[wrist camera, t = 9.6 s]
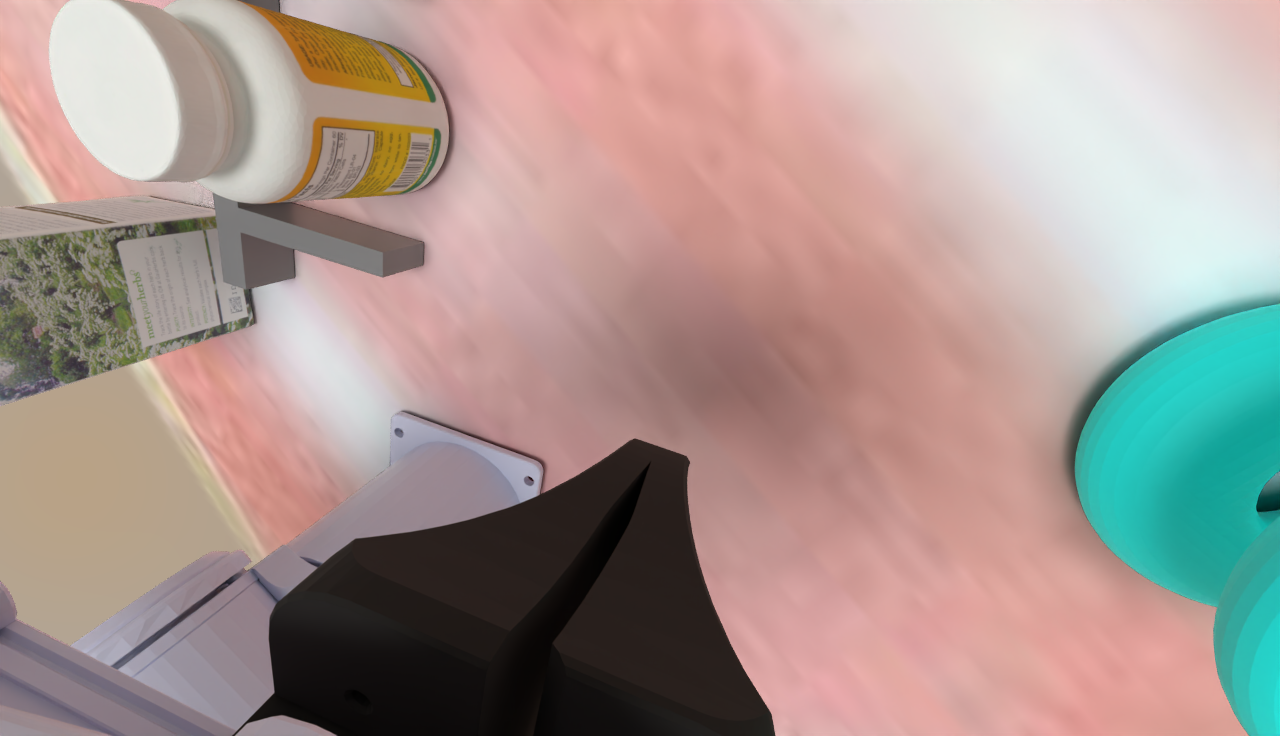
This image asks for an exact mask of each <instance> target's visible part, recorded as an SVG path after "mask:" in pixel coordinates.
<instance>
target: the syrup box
mask: <svg viewBox="0 0 1280 736" xmlns="http://www.w3.org/2000/svg"><path fill="white" fill-rule="evenodd" d="M253 324H254V319H253V313H252V308H251V302H250V297H249V291H248V289H247V290H245V289H242V288H239V287H237V286H234V285H231V284H228V283H225V282H223V274H222V265H221V257H220V248H219V240H218V231H217V223H216V214H215V209H211V208H206V207H200V206H195V205H190V204H184V203H179V202H174V201H169V200H164V199H159V198H153V197H149V196H128V197H116V198H105V199H95V200H86V201H75V202H63V203H48V204H37V205H22V206H10V207H0V406H2V405H5V404H9V403H12V402H15V401H18V400H21V399H24V398H27V397H30V396H33V395H37V394H40V393H43V392H46V391H50V390H53V389H56V388H59V387H62V386H65V385H68V384H71V383H74V382H77V381H81V380H84V379H87V378H90V377H93V376H96V375H99V374H102V373H106V372H109V371H112V370H115V369H119V368H122V367H125V366H128V365H131V364H134V363H137V362H140V361H143V360H146V359H149V358H152V357H155V356H159V355H162V354H165V353H168V352H171V351H174V350H177V349H181V348H184V347H187V346H190V345H193V344H196V343H199V342H202V341H205V340H208V339H212V338H214V337H217V336H220V335H224V334H228V333H231V332H234V331H237V330H240V329H243V328H246V327H249V326H252V325H253Z"/></svg>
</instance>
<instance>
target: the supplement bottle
mask: <svg viewBox="0 0 1280 736" xmlns="http://www.w3.org/2000/svg"><path fill="white" fill-rule="evenodd" d="M49 60H50V68H51V75H52V80H53V84H54V88H55V91H56V94H57V97H58V100H59V103H60V105H61V107H62V110H63V112H64V114H65V116H66V118H67V120H68V122H69V124H70V126H71V127H72V129H73V130H74V132H75V134H76V135H77V137H78V138H79V139H80V141H81V142H82V143H83V144H84V146H85V147H86V148H87V149H88V151H89V152H90V153H91V154H92V155H93V156H94V157H95V158H96V159H97V160H98V161H99V162H100V163H101V164H103V165H104V166H105V167H107V168H108V169H110V170H111V171H113V172H114V173H116V174H118V175H120V176H122V177H125V178H128V179H131V180H136V181H145V182H172V181H176V182H193V181H196V182H198V183H199V184H200V185H202V186H203V187H205V188H206V189H208V190H209V191H211V192H213V193H215V194H217V195H219V196H222V197H224V198H227V199H230V200H233V201H237V202H243V203H251V204H264V203H280V202H295V201H309V200H325V199H340V198H359V197H371V196H384V195H401V194H407V193H411V192H414V191H416V190H418V189H420V188H422V187H423V186H425V185H426V184H428V183H429V182H430V181H431V180H432V179H433V178H434V177H435V175H436V174H437V173H438V171H439V169H440V168H441V166H442V164H443V161H444V159H445V155H446V152H447V148H448V140H449V124H448V117H447V111H446V108H445V104H444V101H443V98H442V96H441V93H440V91H439V89H438V87H437V86H436V84H435V82H434V81H433V79H432V78H431V76H430V75H429V74H428V72H427V71H426V70H425V69H424V68H423V66H422V65H421V64H420V63H419V62H418V61H417V60H416V59H414V58H413V57H412V56H411V55H409V54H408V53H406V52H405V51H403V50H401V49H399V48H397V47H395V46H392V45H389V44H386V43H383V42H380V41H376V40H372V39H369V38H365V37H361V36H358V35H355V34H351V33H347V32H344V31H340V30H337V29H333V28H330V27H326V26H323V25H320V24H316V23H313V22H309V21H306V20H302V19H299V18H296V17H292V16H289V15H285V14H282V13H279V12H275V11H272V10H269V9H265V8H262V7H258V6H255V5H251V4H248V3H245V2H241V1H238V0H176V1H174V2H172V3H171V4H169V5H168V6H166V7H165V8H164V9H163V10H162V9H159V8H157V7H155V6H152V5H148V4H143V3H134V2H130V1H125V0H70V1H69V2H67V3H66V4H65V5H64V6H63V7H62V8H61V10H60V11H59V13H58V15H57V16H56V18H55V20H54V22H53V25H52V29H51V33H50V43H49Z"/></svg>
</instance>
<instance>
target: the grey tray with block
mask: <svg viewBox="0 0 1280 736" xmlns="http://www.w3.org/2000/svg"><path fill="white" fill-rule="evenodd" d="M238 1H241V2H245V3H248V4H251V5H255V6H258V7H262V8H265V9H269V10H272V11H275V12H279V0H238ZM213 197H214V206H215V214H216V223H217V231H218V240H219V248H220V257H221V265H222V274H223V282H225V283H228V284H231V285H234V286H237V287H239V288H242V289H245V290H247V289H251V288H255V287H259V286H263V285H267V284H271V283H275V282H279V281H283V280H287V279H291V278H295V270H294V253H293V249H295V250H298V251H301V252H304V253H307V254H310V255H313V256H317V257H320V258H323V259H326V260H329V261H332V262H335V263H339V264H342V265H345V266H348V267H351V268H354V269H357V270H361V271H364V272H367V273H370V274H373V275H376V276H379V277H386V276H389V275H393V274H396V273H399V272H403V271H406V270H409V269H413V268H416V267H419V266H423V255H424V242H420V241H417V240H414V239H411V238H407V237H404V236H401V235H397V234H394V233H391V232H387V231H384V230H381V229H377V228H374V227H371V226H367V225H364V224H361V223H357V222H354V221H351V220H347V219H344V218H341V217H337V216H334V215H331V214H327V213H324V212H321V211H318V210H314V209H311V208H308V207H304V206H301V205H298V204H294V203H291V202H280V203H264V204H251V203H243V202H237V201H233V200H230V199H227V198H224V197H222V196H219V195H217V194H215V193H213Z"/></svg>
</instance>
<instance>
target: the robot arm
mask: <svg viewBox="0 0 1280 736" xmlns="http://www.w3.org/2000/svg"><path fill="white" fill-rule="evenodd" d="M400 429H401V430H402V431H403V433H402V432H401V430H400ZM689 464H690V461H689V460H688V458H687V456H684V455H682V454H679V453H676V452H673V451H670V450H667V449H664V448H661V447H658V446H655V445H653V444H650V443H647V442H644V441H641V440H638V439H633V440H630V441H629V442H627V443H626V444H625V445H623V446H622V447H620V448H619V449H618V450H616V451H615V452H613V453H612V454H610V455H609V456H607V457H606V458H604V459H603V460H601V461H600V462H598V463H597V464H595V465H593V466H592V467H590V468H589V469H587V470H585V471H584V472H582V473H580V474H579V475H577V476H575V477H573V478H572V479H570V480H568V481H566V482H564V483H562V484H560V485H558V486H556V487H554V488H553V489H551V490H549V491H547V492H544V493H542V494H540V489H541V483H542V477H543V467H542V465H541V464H540V463H539V462H538V461H536V460H534V459H531V458H528V457H526V456H523V455H520V454H517V453H515V452H512V451H509V450H506V449H504V448H501V447H498V446H495V445H493V444H490V443H487V442H484V441H482V440H479V439H476V438H473V437H471V436H468V435H465V434H462V433H460V432H457V431H454V430H452V429H449V428H446V427H443V426H441V425H438V424H435V423H432V422H430V421H427V420H424V419H421V418H419V417H416V416H413V415H410V414H408V413H405V412H398V413H397V414H395V415H394V416H393V417H392V419H391V446H390V466H389V467H388V468H387V469H386V470H384V471H383V472H382V473H380V474H379V475H378V476H376V477H375V478H374V479H372V480H371V481H370V482H368V483H367V484H366V485H364V486H363V487H362V488H360V489H359V490H358V491H356V492H355V493H354V494H352V495H351V496H350V497H348V498H347V499H346V500H345V501H343V502H342V503H341V504H339V505H338V506H337V507H335V508H334V509H333V510H331V511H330V512H329V513H327V514H326V515H325V516H323V517H322V518H321V519H319V520H318V521H317V522H315V523H314V524H313V525H311V526H310V527H309V528H307V529H306V530H305V531H304V532H302V533H301V534H300V535H298V536H297V537H296V538H294V539H293V540H292V541H290V542H289V543H288V544H286V545H282V546H281V547H279V548H278V549H277V550H275V551H274V552H272V553H271V554H270V555H268V556H267V557H266V558H264V559H263V560H261V561H260V562H259V563H257V564H256V565H254V566H253V567H252V568H250V569H249V570H248V571H246V570H245V569H244V567H245V566H246V565H248V564H249V563H250V562H252V561H251V560H250V558H249V557H248V556H247V554H246V553H245V552H244V551H243V550H236V551H234V552H232V553H229V552H227V551H225V552H224V551H213V552H210V553H208V554H206V555H204V556H203V557H201V558H199V559H198V560H196V561H195V562H193V563H191V564H190V565H188V566H187V567H185V568H183V569H182V570H180V571H179V572H177V573H176V574H175V575H173V576H171V577H170V578H168V579H167V580H165V581H164V582H162V583H161V584H159V585H158V586H156V587H155V588H153V589H152V590H150V591H149V592H147V593H146V594H144V595H143V596H141V597H140V598H138V599H137V600H135V601H134V602H132V603H131V604H129V605H128V606H127V607H125V608H123V609H122V610H121V611H119V612H118V613H116V614H115V615H113V616H112V617H110V618H109V619H107V620H106V621H105V622H103V623H102V624H100V625H99V626H97V627H96V628H94V629H93V630H92V631H90V632H89V633H88V634H86V635H84V636H83V637H82V638H80V639H79V640H77V641H76V642H75V643H73V644H72V645H70V646H69V645H67V644H65V643H63V642H61V641H59V640H57V639H55V638H53V637H51V636H50V635H48V634H46V633H44V632H41V631H40V630H38V629H36V628H34V627H32V626H30V625H28V624H25V623H24V622H22V621H20V620H18V619H16V616H17V610H16V607H15V603H14V600H13V598H12V596H11V594H10V592H9V591H8V589H7V588H6V586H4V584H2V582H1V581H0V736H775V731H774V725H773V720H772V714H771V713H770V711H769V709H768V708H767V706H766V704H765V703H764V701H763V700H762V698H761V696H760V695H759V693H758V692H757V690H756V688H755V687H754V685H753V684H752V682H751V680H750V679H749V677H748V676H747V674H746V672H745V671H744V669H743V667H742V665H741V663H740V661H739V659H738V657H737V655H736V653H735V652H734V650H733V648H732V646H731V644H730V642H729V639H728V637H727V635H726V633H725V630H724V628H723V626H722V624H721V621H720V619H719V617H718V615H717V612H716V610H715V608H714V606H713V603H712V600H711V597H710V595H709V592H708V589H707V586H706V583H705V580H704V577H703V574H702V571H701V567H700V564H699V560H698V556H697V552H696V548H695V543H694V539H693V534H692V528H691V522H690V515H689V506H688V496H687V474H688V467H689ZM528 476H529V477H531V478H532V479H533V480H534V481H531V480H529V478H528Z"/></svg>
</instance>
